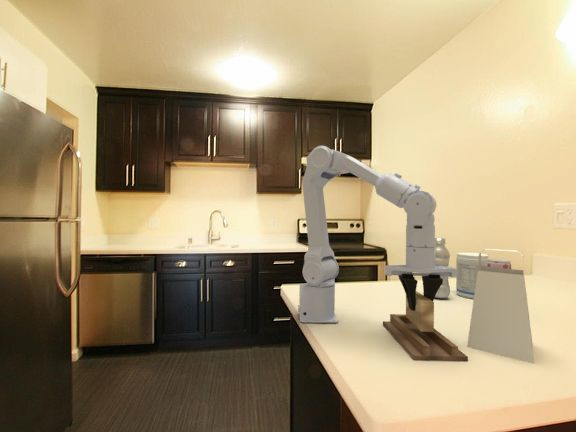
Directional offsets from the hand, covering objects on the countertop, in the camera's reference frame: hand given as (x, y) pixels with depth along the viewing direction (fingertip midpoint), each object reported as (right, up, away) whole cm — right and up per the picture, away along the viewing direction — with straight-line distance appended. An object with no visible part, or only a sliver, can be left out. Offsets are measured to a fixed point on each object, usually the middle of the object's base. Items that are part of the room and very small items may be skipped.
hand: (419, 309), depth 63 cm
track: (0, -7, 0) cm, 7 cm away
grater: (+16, -7, -2) cm, 18 cm away
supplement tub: (+35, -8, +38) cm, 52 cm away
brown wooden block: (0, -3, 0) cm, 3 cm away
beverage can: (+32, -8, +21) cm, 39 cm away
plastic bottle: (+22, -8, +35) cm, 42 cm away
